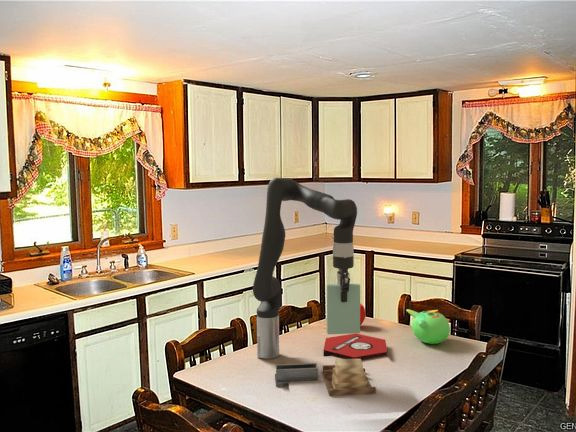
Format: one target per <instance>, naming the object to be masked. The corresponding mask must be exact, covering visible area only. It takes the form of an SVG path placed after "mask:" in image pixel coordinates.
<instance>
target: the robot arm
mask: <svg viewBox="0 0 576 432" xmlns="http://www.w3.org/2000/svg"><path fill="white" fill-rule="evenodd" d="M286 201H287V202H288V201H295V202H299V203H300V202H301V203H303V204H304V205H306V207H309V208H310V209H312V210H314V211H318V212H321V213H324V214H325V215H326V216H328V217H329V218H331V219H334V220H339V224H338V225H336V226H334V228H333V246H332V266H333V268H335V269H337V271H336V276H337V284H339V285H340V286H341V290H340V291H341V302H347V292H349V284H351V277H350V272H349V271H348V270H349V269H352V268H354V266H355V264H354V263H355V262H354V258H355V257H354V256H355V255H354V228H355V224H356V220H357V215H358V206H357V204H356V203H355V201H354V200H352V199H349V198H348V199H335V198H334V196H332V195H331V194H327V193H324V192H322V191H319V190H316V189H315V190H314V189H312V188H308V187H307V186H305V185H302V184H300V183H299V182H297V181H296V180H293V179H291V178H290V177H289V178H288V177H273V178H272V179H270V181H269V183H268V184H267V189H266V204H265V206H266V207H265V218H264V225H263V230H262V231H263V232H262V237H261V244H260V245H261V246H260V251H259V258H258V264H257V268H256V271H255V272H256V273H255V277H254V281H253V285H252V294H253V296H254V298H255V299H256V300H257V301H259V302H260V304H259V305H258V306H257V308H256V342H257V343H256V344H257V346H256V347H257V358H259V359H260V358H261V359H266V360H267V359H269V360H271V359H275V358H278V357H279V356H280V308H281V306H282V305H281V301H282V300H281V298H282V288H281V284H280V281H279V279H278V278H277V277H276V276H273V275H274V271H275V267H276V266H277V264H278V262H279V260H280V258H281V255H282V253H283V251H284V247H285V240H286V229H285V225H284V223H283V220H282V217H281V207H282V202H286ZM344 287H346V288H344Z"/></svg>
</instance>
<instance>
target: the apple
mask: <svg viewBox="0 0 576 432" xmlns="http://www.w3.org/2000/svg"><path fill="white" fill-rule="evenodd" d="M365 319H366V309H365V307H364V305H363V304H362V303H360V327H361V326H362V324H363V323H364V321H365Z"/></svg>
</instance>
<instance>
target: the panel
mask: <svg viewBox="0 0 576 432" xmlns="http://www.w3.org/2000/svg"><path fill="white" fill-rule="evenodd" d="M344 288H346V287H344ZM340 290H341V286H340V285H339V284H338V283H337V284H334V283H333V284H326V333H327V335H349V334H361V326H360V304H361V284H359V283H350V284H349V292H347V302H341V291H340Z"/></svg>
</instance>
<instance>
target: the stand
mask: <svg viewBox="0 0 576 432" xmlns="http://www.w3.org/2000/svg"><path fill="white" fill-rule="evenodd" d="M275 371H276V372H275V373H274V381H275V387H289V386H290V385H289V383H295V382H297V383H298V382H299V383H300V382H316V381H318V382H319V381H321V380H320V377H319V368H318V367H317V362H310V363H308V362H307V363H304V362H303V363H285V364H284V363H283V364H282V363H281V364H275Z"/></svg>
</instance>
